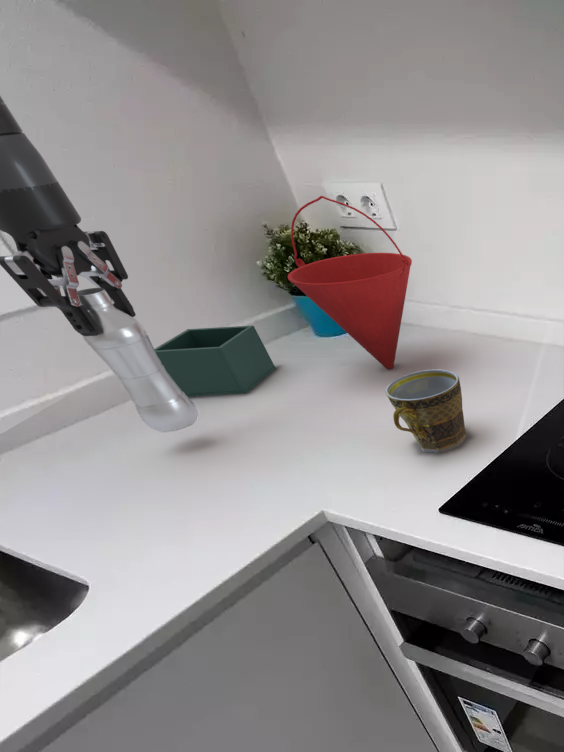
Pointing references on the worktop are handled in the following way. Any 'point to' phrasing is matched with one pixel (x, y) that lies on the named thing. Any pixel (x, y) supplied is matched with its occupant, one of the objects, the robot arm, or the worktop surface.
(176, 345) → the bin
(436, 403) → the ceramic cup
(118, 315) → the plastic bottle
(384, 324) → the fire bucket
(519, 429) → the worktop surface
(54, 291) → the robot arm
